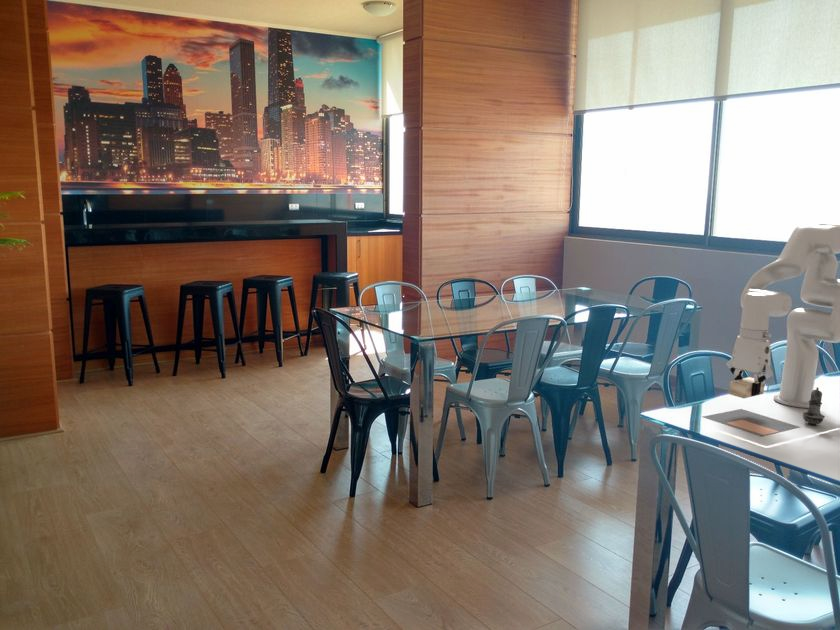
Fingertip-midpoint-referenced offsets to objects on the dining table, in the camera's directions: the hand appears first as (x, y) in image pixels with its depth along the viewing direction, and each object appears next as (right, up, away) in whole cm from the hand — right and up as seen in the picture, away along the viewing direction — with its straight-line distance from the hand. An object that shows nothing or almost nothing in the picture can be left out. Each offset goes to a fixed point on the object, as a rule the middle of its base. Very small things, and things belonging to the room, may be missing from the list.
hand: (746, 392), depth 219 cm
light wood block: (0, -1, 0) cm, 1 cm away
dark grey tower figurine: (+17, -10, -5) cm, 20 cm away
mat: (-1, -9, -6) cm, 11 cm away
